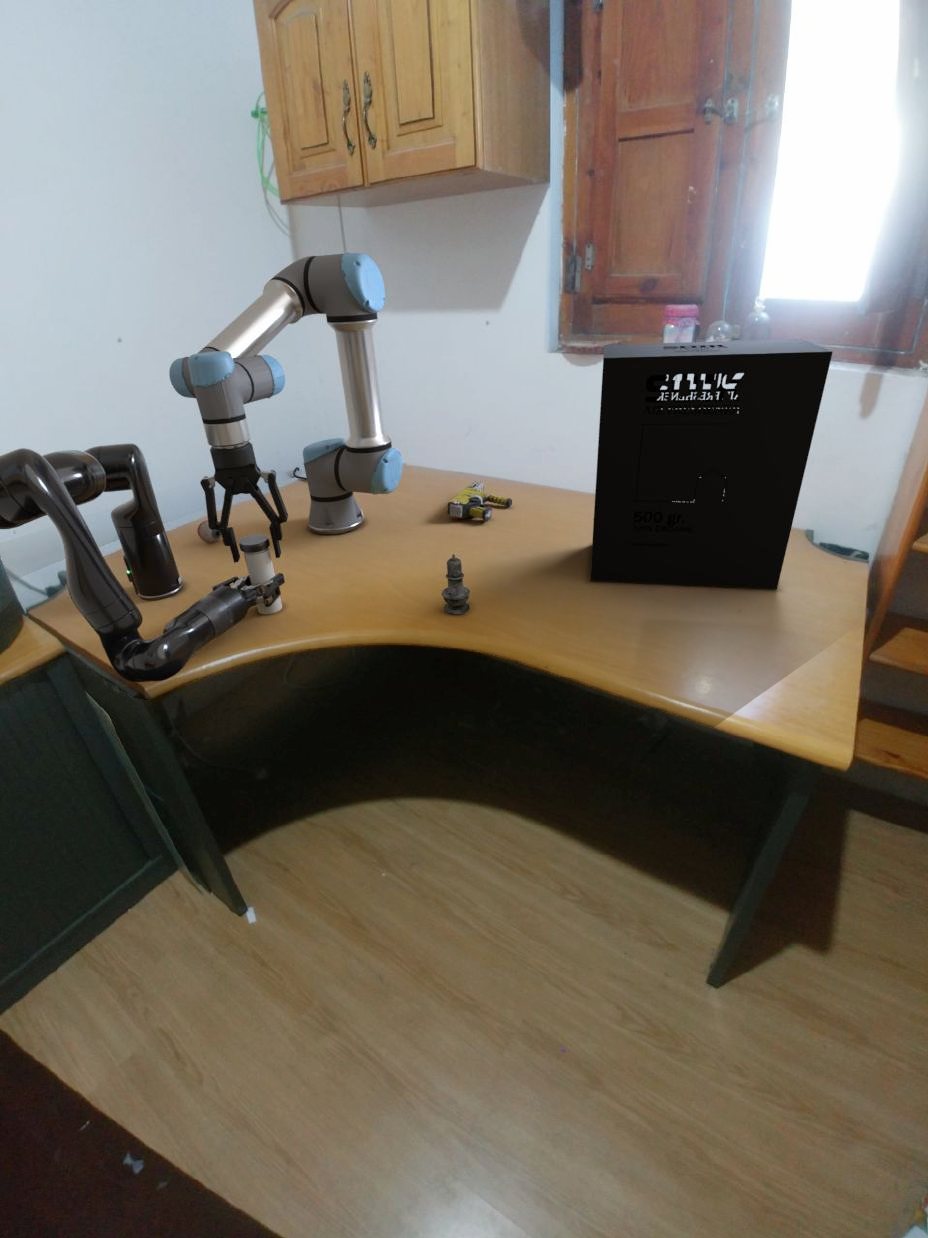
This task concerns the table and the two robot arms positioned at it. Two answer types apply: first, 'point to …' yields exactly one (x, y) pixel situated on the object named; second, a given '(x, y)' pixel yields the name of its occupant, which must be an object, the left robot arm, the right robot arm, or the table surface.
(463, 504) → the toy gun
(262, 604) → the bottle
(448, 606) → the dark grey tiered figure
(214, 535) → the eyeball
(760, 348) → the cardboard box
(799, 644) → the table surface
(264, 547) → the lid
